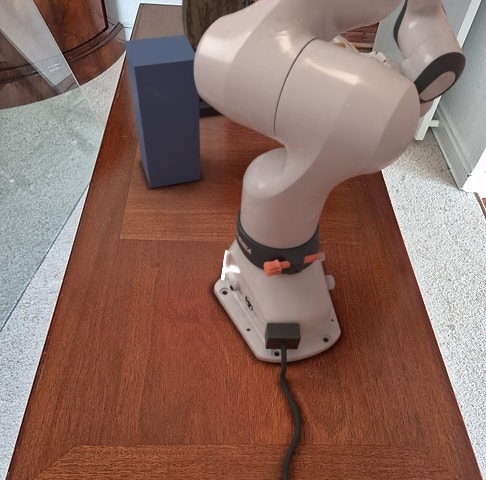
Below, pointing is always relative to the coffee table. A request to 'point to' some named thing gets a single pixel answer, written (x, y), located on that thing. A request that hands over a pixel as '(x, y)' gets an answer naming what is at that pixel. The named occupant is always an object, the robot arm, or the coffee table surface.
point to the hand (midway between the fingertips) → (324, 49)
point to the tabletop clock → (205, 16)
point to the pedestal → (165, 108)
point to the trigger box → (206, 109)
